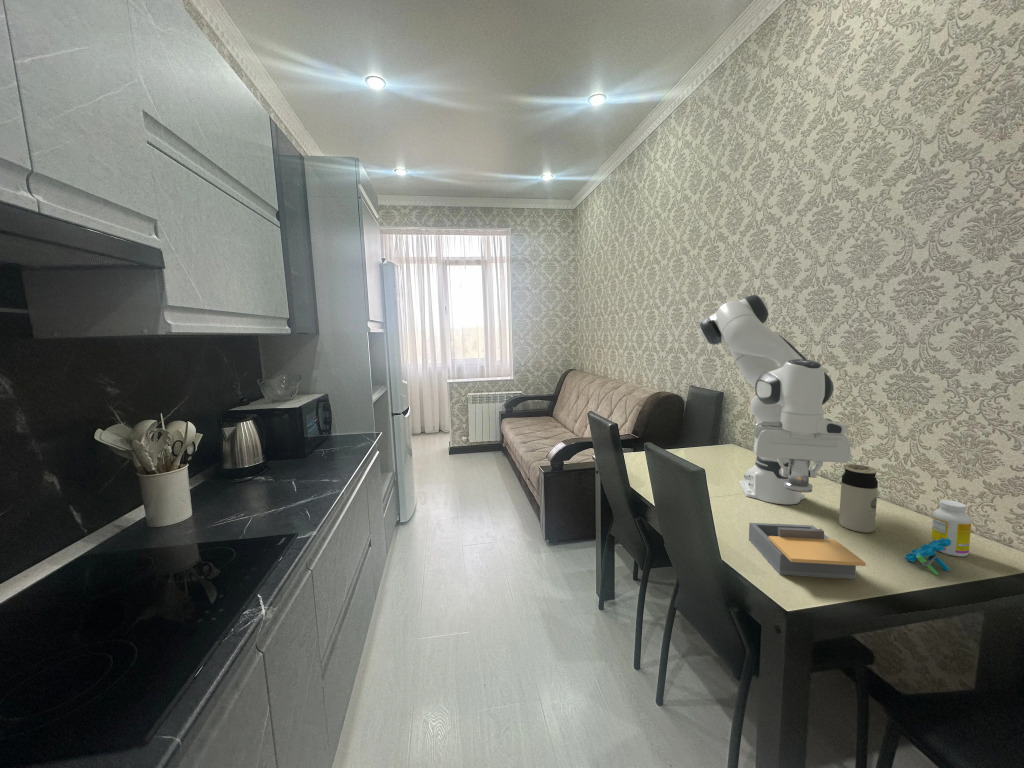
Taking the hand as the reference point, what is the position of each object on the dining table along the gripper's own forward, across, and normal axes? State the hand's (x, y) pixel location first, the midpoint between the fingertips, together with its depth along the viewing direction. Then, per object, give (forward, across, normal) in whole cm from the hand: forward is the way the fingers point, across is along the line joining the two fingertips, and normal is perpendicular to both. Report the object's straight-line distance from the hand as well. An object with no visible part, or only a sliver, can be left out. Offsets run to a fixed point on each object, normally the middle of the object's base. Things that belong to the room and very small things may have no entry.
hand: (798, 475), depth 103 cm
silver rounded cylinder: (+3, 0, 0) cm, 3 cm away
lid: (+15, +1, -10) cm, 18 cm away
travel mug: (+20, +21, +21) cm, 36 cm away
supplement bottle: (+20, +37, +12) cm, 44 cm away
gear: (+21, +28, +2) cm, 34 cm away
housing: (+20, 0, -4) cm, 21 cm away
